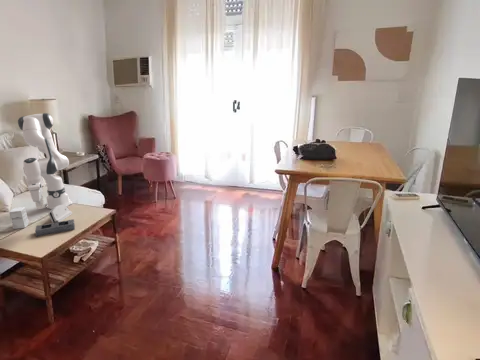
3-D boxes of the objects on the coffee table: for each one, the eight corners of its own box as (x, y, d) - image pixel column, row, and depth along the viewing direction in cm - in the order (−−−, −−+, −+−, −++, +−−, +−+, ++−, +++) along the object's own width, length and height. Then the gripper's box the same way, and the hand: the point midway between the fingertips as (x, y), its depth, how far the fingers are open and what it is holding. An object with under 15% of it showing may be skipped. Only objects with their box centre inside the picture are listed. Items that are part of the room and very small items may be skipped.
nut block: (37, 207, 224) (35, 196, 221) (44, 206, 225) (42, 195, 223) (36, 209, 220) (34, 198, 218) (44, 208, 221) (41, 197, 219)
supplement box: (13, 229, 227) (8, 211, 223) (17, 224, 234) (13, 207, 230) (25, 228, 229) (21, 210, 225) (29, 223, 236) (25, 206, 232)
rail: (37, 231, 223) (36, 225, 222) (74, 224, 232) (73, 219, 230) (36, 236, 216) (35, 231, 214) (74, 229, 224) (73, 223, 223)
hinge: (58, 222, 235) (51, 210, 233) (53, 224, 236) (45, 212, 234) (72, 213, 251) (66, 201, 249) (67, 215, 252) (60, 203, 250)
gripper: (32, 180, 226) (36, 199, 230) (27, 188, 208) (32, 209, 212) (42, 178, 228) (47, 198, 232) (39, 187, 210) (43, 208, 214)
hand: (40, 203), depth 222 cm, fingers closed on nut block, 4 cm apart
